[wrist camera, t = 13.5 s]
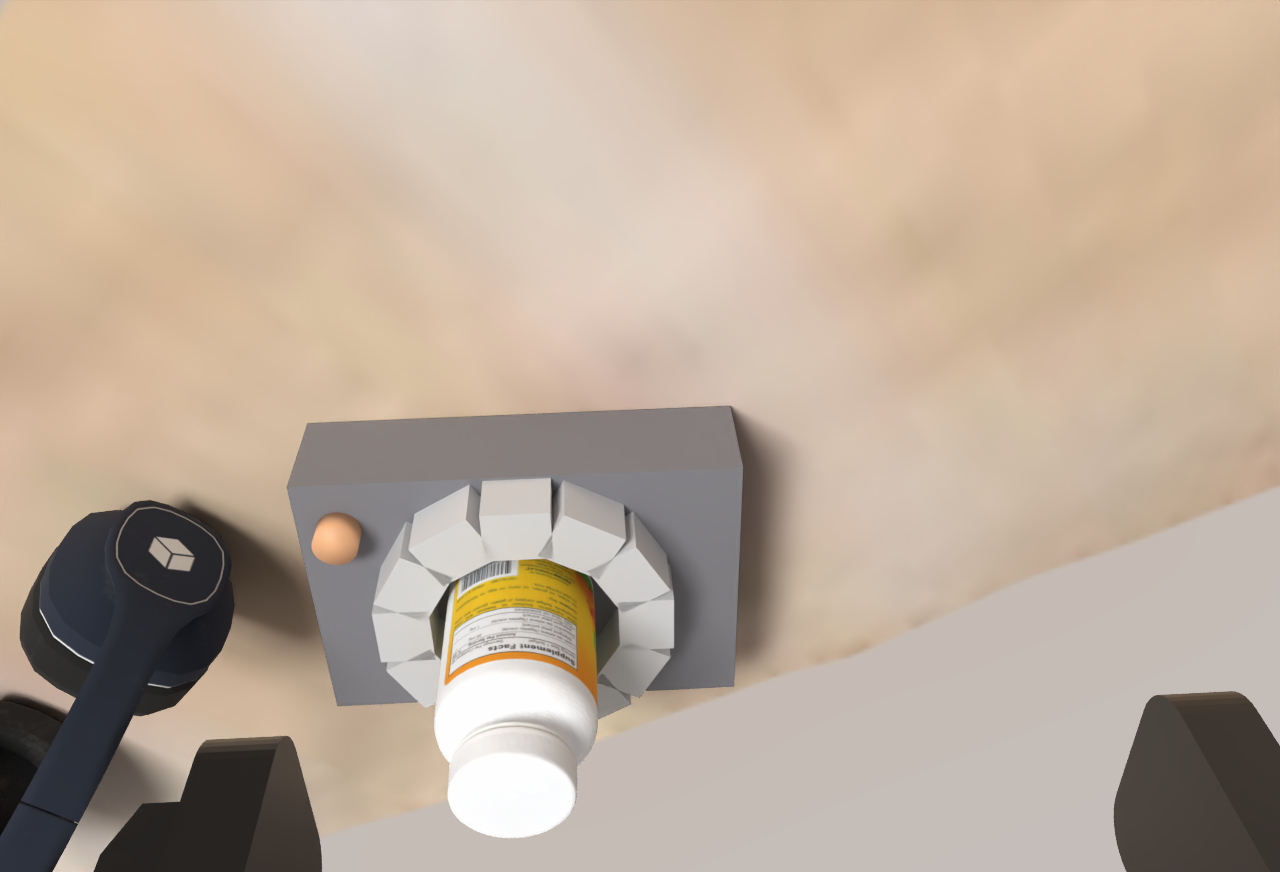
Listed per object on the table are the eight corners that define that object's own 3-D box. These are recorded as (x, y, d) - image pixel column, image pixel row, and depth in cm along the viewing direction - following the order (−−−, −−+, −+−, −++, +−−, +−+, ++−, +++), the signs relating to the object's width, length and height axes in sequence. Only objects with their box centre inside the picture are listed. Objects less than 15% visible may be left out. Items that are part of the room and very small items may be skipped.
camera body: (730, 406, 45) (750, 501, 40) (723, 618, 51) (739, 724, 46) (307, 423, 44) (275, 523, 39) (352, 636, 51) (329, 744, 46)
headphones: (67, 794, 55) (-119, 1229, 40) (-82, 736, 53) (-341, 1179, 38) (281, 529, 47) (149, 950, 32) (118, 443, 45) (-110, 859, 29)
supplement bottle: (562, 654, 46) (561, 868, 38) (431, 618, 45) (401, 833, 37) (616, 556, 44) (627, 764, 36) (478, 514, 42) (457, 721, 34)
